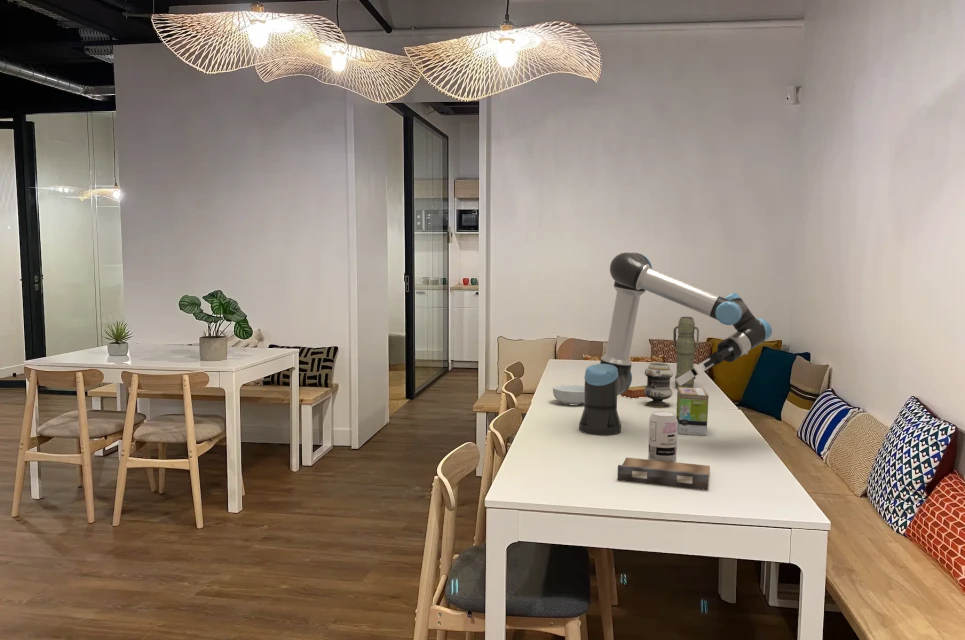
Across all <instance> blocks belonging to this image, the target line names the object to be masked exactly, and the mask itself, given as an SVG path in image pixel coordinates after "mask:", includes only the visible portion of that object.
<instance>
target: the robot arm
mask: <svg viewBox="0 0 965 640" xmlns="http://www.w3.org/2000/svg"><path fill="white" fill-rule="evenodd" d="M609 273H610V277H612V279H613V280H614V284H613V288H614V290H615V291H616V294H615V300H614V301H615V302H614V307H613V313H612V318H611V323H610V330H609V335H608V340H607V345H606V346H607V347H606V351H605V354H604V355H603V356H601V357H600V362H599V363H597V364H591V365H589V366H587V367H586V368H585V372H584V385H585V397H584V405H583V407H584V408H583V411H582V414H581V417H580V419H579V423H578V430H579V431H580V432H582V433H584V432H585V433H584V434H588V433H589V435H595V434H596V435H597V436H610V435H611V436H612V435H617V434H620V433H621V432H622V424H621V420H620V417H619V414H618V396H619V395H620V396H621V394H622V393H624V392H625V391H626V390H627V389H628V388H629V387H631V384H632V382H633V375H632V371H631V370H632V366H633V363H632V361H631V360H630V353H631V347H632V342H633V336H634V331H635V326H636V321H637V315H638V309H639V305H640V299H641V295H643V294H645V293H646V291H647V292H649V293H652V294H654V295H656V296H659V297H662V298H664V299H666V300H669V301H671V302H673V303H675V304H679V305H681V306H684V307H686V308H689V309H690V310H693V311H696V312H697V313H701V314H702V315H706V316H708V317H709V318H712V319H713V320H716V321H718V322H719V323H720V324H721V325H722V324H723V325H726V326H733V328H734V329H735V330H736V332H734V333H732V334H731V335H730V336H728V337H726V338H725V339H723V340H721V341H720V342H718V344H717V347H716V349H717V350H716V351H714V352H713V353H711V354H709V355H708V357H706V358H705V360H703V361H702V362H700V363H699V364H697V365H696V366H695V365H694V366H693V369H692V370H689V371H688V372H686V373H685V374H683V375H682V376H680V377H678V378H677V379H675V378H674V381H675V380H676V382H677V383H678V385H679V386H681V385H683V384H684V383H686V382H687V381H689V380H691V379H692V378H694V380H696V376H697V375H698V376H699V375H700V374H702V373H703V372H705V371H707V370H709V369H710V368H713V367H715V366H717V365H718V364H719V365H720V364H721V363H722V362H724V361H725V362H727V363H733V362H734V361H736V360H737V359H739V358H740V357H742V356H744V355H745V356H746V355H748V354H749V352H750V351H751V350H753V349H755V348H756V347H758V346H759V345H761V344H762V343H764V342H765V341H766V340H768V339H769V338H770V337H772V334H773V327H772V325H771V324H770V323H769V322H768V321H766V320H765V318H757V317H756V316H754V314H753V312H752V311H751V310H750V309H749V307H748V306H747V305H746V303H745V301H744V300H743V298H742V297H740V295H739V294H738V293H737V292H731V293H730V294H728V295H727V296H726V297H723V296H720V295H717V294H715V293H712V292H710V291H707V290H705V289H703V288H701V287H697V286H695V285H693V284H691V283H688V282H685V281H682V280H681V279H677V278H676V277H673V276H670V275H668V274H666V273H663V272H660V271H658V270H656V269H653V265H652V263H651V261H650V259H649V258H648V257H647V256H645V255H643V254H642V253H639V252H621V253H619V254H617V255H616V256H614V258H613V259H612V260H611V262H610V265H609Z"/></svg>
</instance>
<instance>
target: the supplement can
mask: <svg viewBox="0 0 965 640" xmlns="http://www.w3.org/2000/svg"><path fill="white" fill-rule="evenodd" d="M648 423H649V425H648V426H649V427H648V431H649V432H648V457H647V460H657V461H667V462H677V449H678V448H677V447H678V441H677V440H678V429H677V418H676V413H674V412H671V411H662V410H661V411H652V412H651V415H650V416H649V421H648Z"/></svg>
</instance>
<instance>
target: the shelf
mask: <svg viewBox="0 0 965 640" xmlns="http://www.w3.org/2000/svg"><path fill="white" fill-rule="evenodd" d="M710 470H711V465H707V464H706V465H705V464H697V463H695V464H694V463H688V462H687V463H686V462H677V461H676V462H667V461H657V460H649V459H648V458H647V459H645V458H634V457H625V459H624V461H623V463H622V464H618V465H617V481H622V480H625V481H624V482H631V481H633V482H632V483H640V482H641V484H648V485H649V484H650V485H651V484H652V485H660V486H669V487H677V488H687V489H696V490H703V489H704V491H708V489H709V483H708V482H709V479H710V473H711V472H710Z"/></svg>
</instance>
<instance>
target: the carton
mask: <svg viewBox="0 0 965 640" xmlns="http://www.w3.org/2000/svg"><path fill="white" fill-rule="evenodd" d="M646 387H647V384H646V385H637V386H629V388H628V389H627V390H626V391H625V392H624V393H622V394H620V396H621V395H622V396H621V397H624V396H626V397H625V398H628V397H630V398H629V399H632V398H635V399H640V398H639V397H644V398H648V397H647V396H646V395H645V394H644V389H645V388H646Z"/></svg>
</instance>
